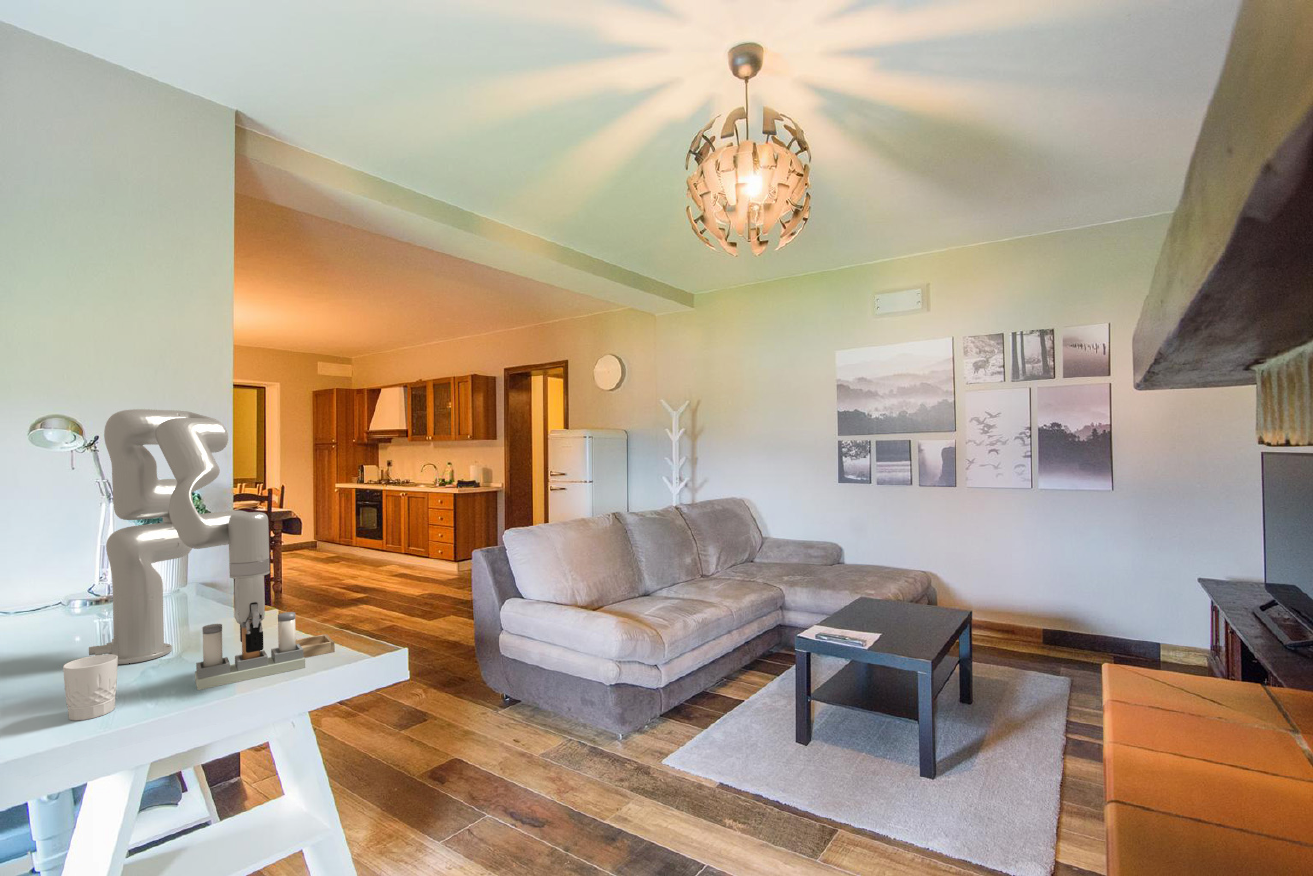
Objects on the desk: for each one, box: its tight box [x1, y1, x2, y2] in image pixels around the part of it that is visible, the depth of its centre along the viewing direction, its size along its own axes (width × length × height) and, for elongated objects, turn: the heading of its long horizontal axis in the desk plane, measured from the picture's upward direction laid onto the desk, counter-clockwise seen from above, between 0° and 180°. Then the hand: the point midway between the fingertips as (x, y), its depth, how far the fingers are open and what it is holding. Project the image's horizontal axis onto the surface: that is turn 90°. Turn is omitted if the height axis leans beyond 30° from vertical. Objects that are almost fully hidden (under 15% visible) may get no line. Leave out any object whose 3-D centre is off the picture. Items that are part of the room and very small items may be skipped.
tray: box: [296, 633, 335, 659], centre depth 158 cm, size 8×8×2 cm
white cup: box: [62, 654, 119, 721], centre depth 124 cm, size 8×8×10 cm
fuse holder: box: [194, 644, 306, 691], centre depth 143 cm, size 20×7×4 cm, turn 128°
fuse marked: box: [241, 622, 261, 660], centre depth 143 cm, size 4×4×10 cm
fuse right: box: [277, 611, 297, 653], centre depth 148 cm, size 4×4×10 cm
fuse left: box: [201, 623, 224, 668], centre depth 139 cm, size 4×4×10 cm
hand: (251, 645), depth 143 cm, fingers open, 9 cm apart
